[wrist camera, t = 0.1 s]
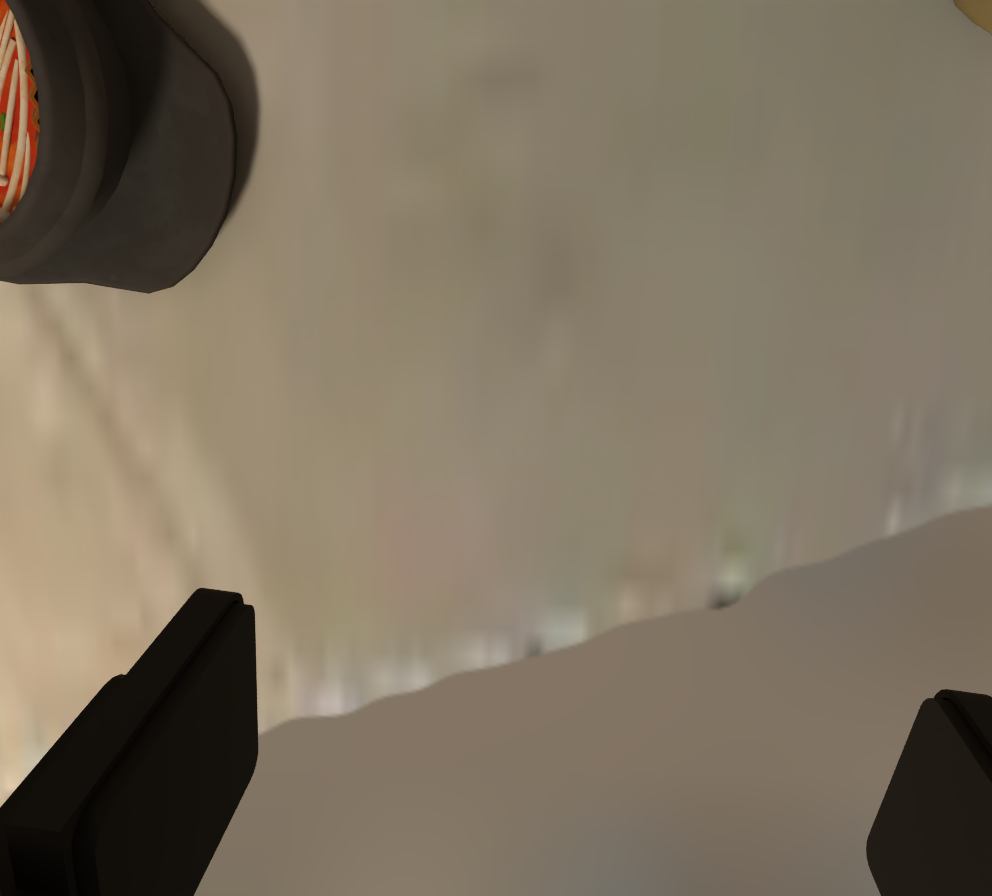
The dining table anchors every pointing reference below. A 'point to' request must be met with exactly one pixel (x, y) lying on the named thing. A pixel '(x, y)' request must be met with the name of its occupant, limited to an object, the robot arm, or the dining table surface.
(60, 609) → the dining table surface
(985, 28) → the squeeze bottle
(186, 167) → the casserole
